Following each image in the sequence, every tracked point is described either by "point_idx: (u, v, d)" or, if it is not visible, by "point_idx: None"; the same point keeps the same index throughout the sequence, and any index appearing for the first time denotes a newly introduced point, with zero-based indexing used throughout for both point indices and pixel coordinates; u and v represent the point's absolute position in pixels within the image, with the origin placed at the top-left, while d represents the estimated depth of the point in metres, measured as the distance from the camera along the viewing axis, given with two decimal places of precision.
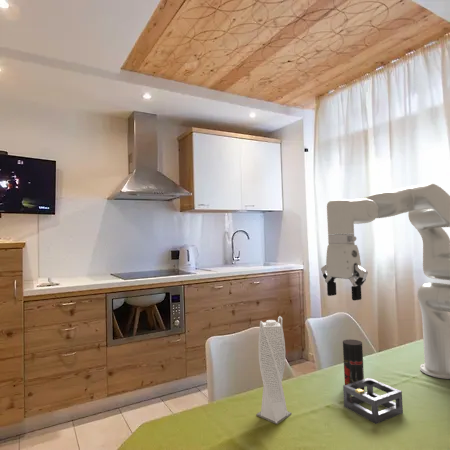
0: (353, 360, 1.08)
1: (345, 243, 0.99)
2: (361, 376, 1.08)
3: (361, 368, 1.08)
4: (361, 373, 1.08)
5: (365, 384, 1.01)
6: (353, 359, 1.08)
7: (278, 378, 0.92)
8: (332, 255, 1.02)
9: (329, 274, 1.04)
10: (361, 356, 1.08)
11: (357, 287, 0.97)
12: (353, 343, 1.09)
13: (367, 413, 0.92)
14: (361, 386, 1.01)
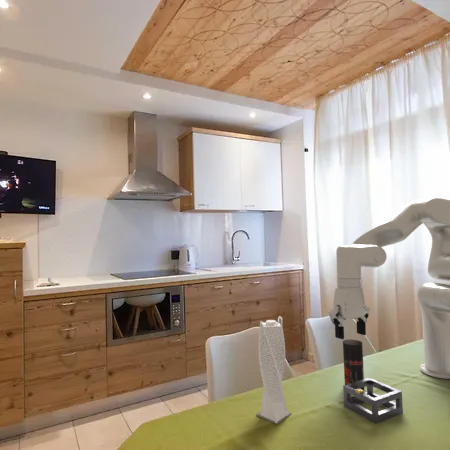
0: (353, 360, 1.08)
1: None
2: (362, 376, 1.08)
3: (361, 368, 1.08)
4: (361, 373, 1.08)
5: (365, 384, 1.01)
6: (353, 359, 1.08)
7: (278, 378, 0.92)
8: (352, 298, 1.08)
9: (347, 317, 1.07)
10: (361, 356, 1.08)
11: None
12: (353, 343, 1.09)
13: (367, 413, 0.92)
14: (361, 386, 1.01)
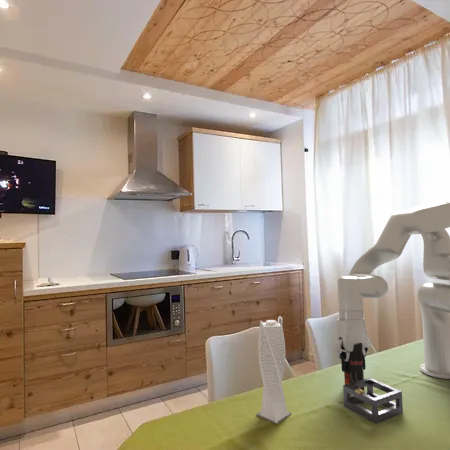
0: (353, 360, 1.08)
1: None
2: (362, 376, 1.08)
3: (361, 368, 1.08)
4: (361, 373, 1.08)
5: (365, 384, 1.01)
6: (353, 359, 1.08)
7: (278, 378, 0.92)
8: (354, 330, 1.08)
9: (349, 350, 1.07)
10: (361, 356, 1.08)
11: None
12: None
13: (367, 413, 0.92)
14: (361, 386, 1.01)
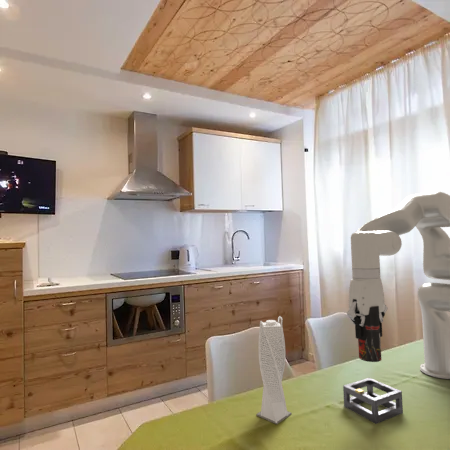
0: (369, 325, 0.95)
1: None
2: (378, 343, 0.95)
3: (378, 334, 0.95)
4: (378, 339, 0.95)
5: (365, 384, 1.01)
6: (369, 324, 0.95)
7: (278, 378, 0.92)
8: (370, 290, 0.95)
9: (365, 313, 0.94)
10: (378, 320, 0.95)
11: None
12: None
13: (367, 413, 0.92)
14: (361, 386, 1.01)
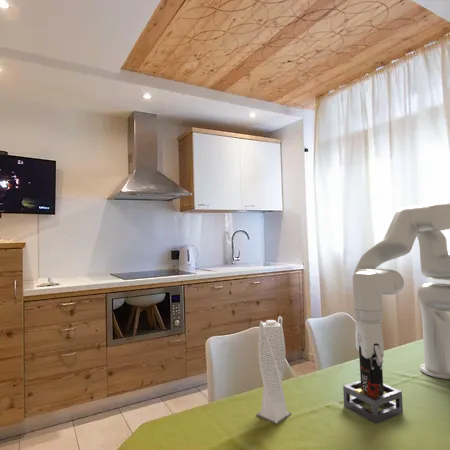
0: None
1: None
2: None
3: None
4: None
5: None
6: None
7: (278, 378, 0.92)
8: None
9: None
10: None
11: None
12: None
13: (367, 413, 0.92)
14: None
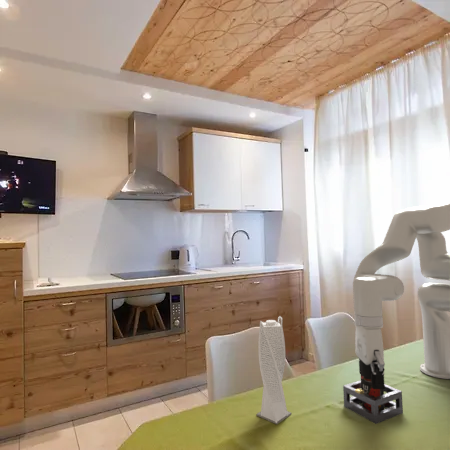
0: None
1: None
2: None
3: None
4: None
5: None
6: None
7: (278, 378, 0.92)
8: None
9: None
10: None
11: None
12: None
13: (367, 413, 0.92)
14: None
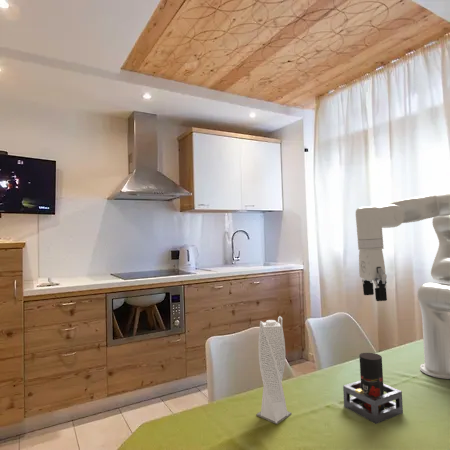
0: (381, 376, 0.95)
1: None
2: None
3: None
4: None
5: None
6: (381, 375, 0.95)
7: (278, 378, 0.92)
8: None
9: None
10: None
11: None
12: (375, 357, 0.96)
13: (367, 413, 0.92)
14: None
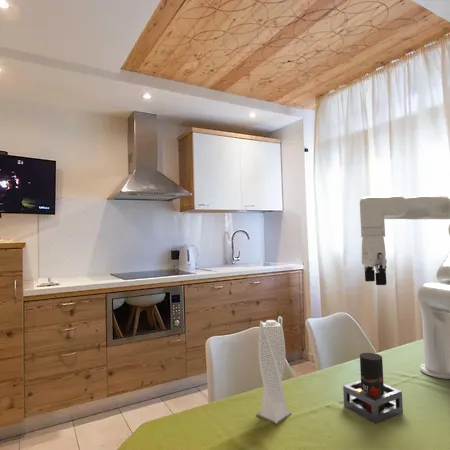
0: (381, 376, 0.95)
1: None
2: None
3: None
4: None
5: None
6: (381, 375, 0.95)
7: (278, 378, 0.92)
8: None
9: None
10: None
11: None
12: (376, 357, 0.96)
13: (367, 413, 0.92)
14: None
